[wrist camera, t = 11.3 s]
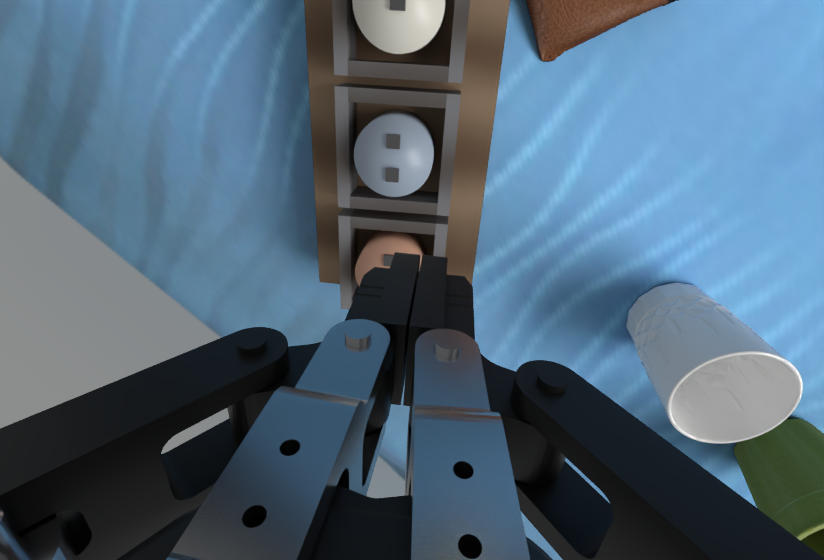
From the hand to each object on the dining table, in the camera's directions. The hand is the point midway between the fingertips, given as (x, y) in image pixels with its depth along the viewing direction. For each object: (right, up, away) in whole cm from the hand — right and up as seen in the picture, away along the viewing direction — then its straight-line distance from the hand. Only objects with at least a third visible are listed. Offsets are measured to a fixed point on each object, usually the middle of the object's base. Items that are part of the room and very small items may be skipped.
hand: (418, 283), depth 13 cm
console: (-1, +10, +19) cm, 22 cm away
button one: (-1, +16, +13) cm, 20 cm away
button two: (-1, +9, +16) cm, 19 cm away
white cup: (+22, -3, +25) cm, 33 cm away
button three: (-1, +2, +20) cm, 20 cm away
